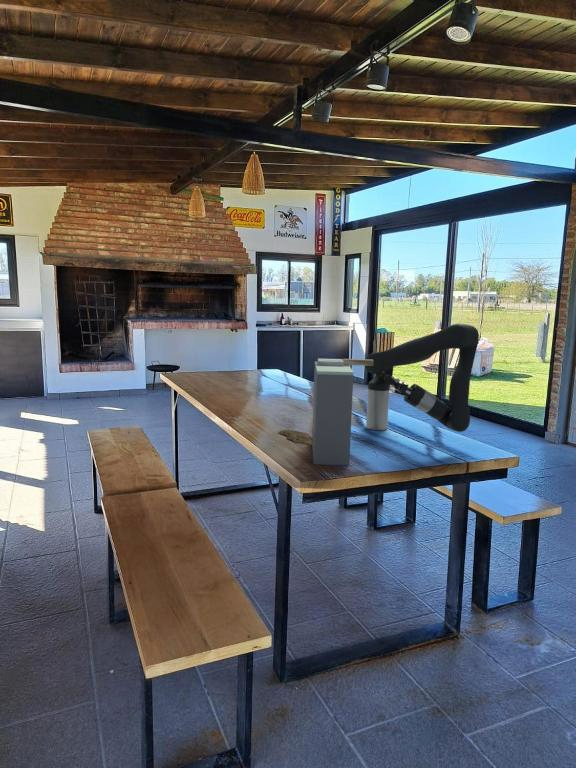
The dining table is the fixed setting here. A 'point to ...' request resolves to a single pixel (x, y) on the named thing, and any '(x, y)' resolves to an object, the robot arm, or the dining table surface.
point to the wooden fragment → (297, 436)
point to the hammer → (345, 362)
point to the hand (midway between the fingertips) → (383, 375)
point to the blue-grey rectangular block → (332, 414)
